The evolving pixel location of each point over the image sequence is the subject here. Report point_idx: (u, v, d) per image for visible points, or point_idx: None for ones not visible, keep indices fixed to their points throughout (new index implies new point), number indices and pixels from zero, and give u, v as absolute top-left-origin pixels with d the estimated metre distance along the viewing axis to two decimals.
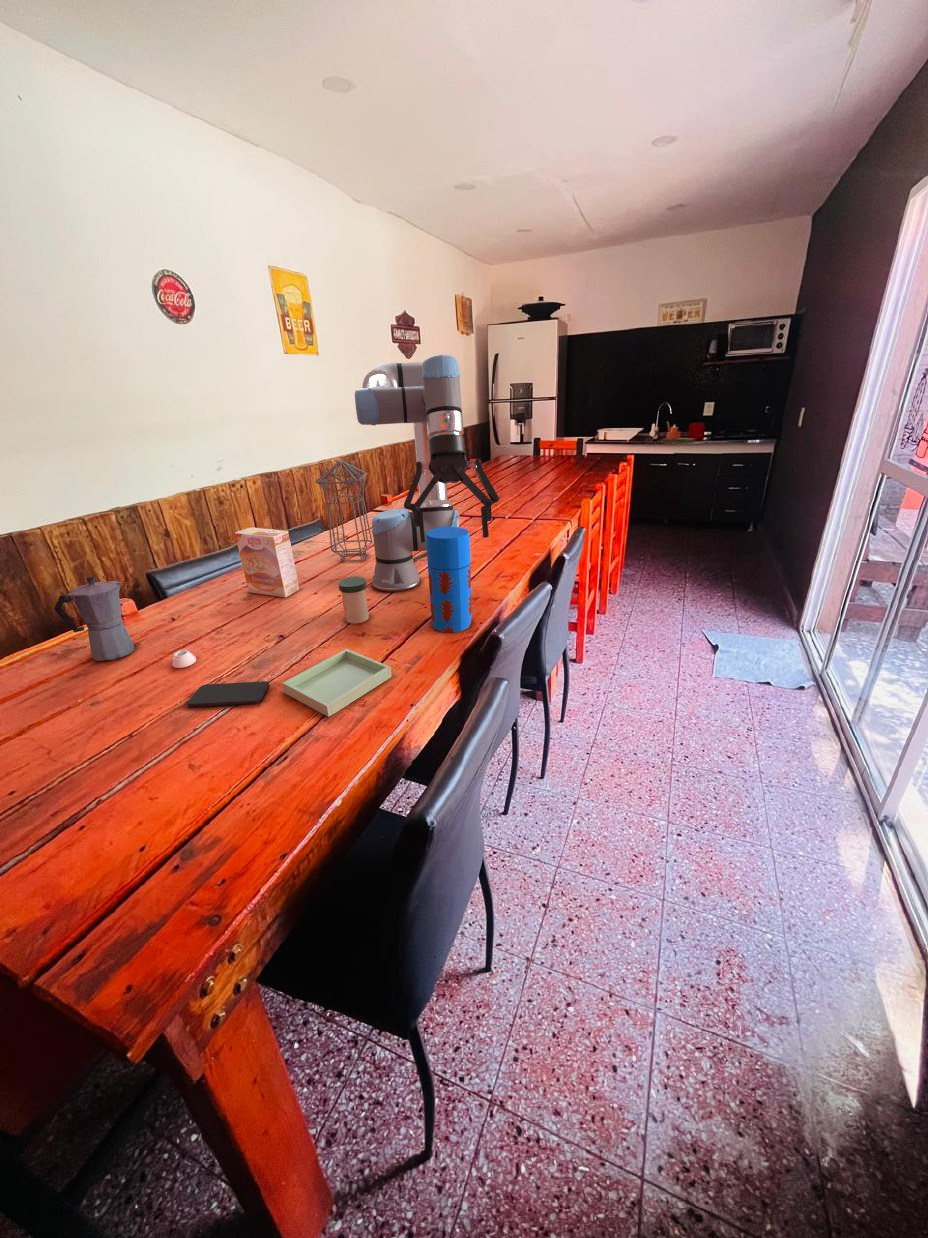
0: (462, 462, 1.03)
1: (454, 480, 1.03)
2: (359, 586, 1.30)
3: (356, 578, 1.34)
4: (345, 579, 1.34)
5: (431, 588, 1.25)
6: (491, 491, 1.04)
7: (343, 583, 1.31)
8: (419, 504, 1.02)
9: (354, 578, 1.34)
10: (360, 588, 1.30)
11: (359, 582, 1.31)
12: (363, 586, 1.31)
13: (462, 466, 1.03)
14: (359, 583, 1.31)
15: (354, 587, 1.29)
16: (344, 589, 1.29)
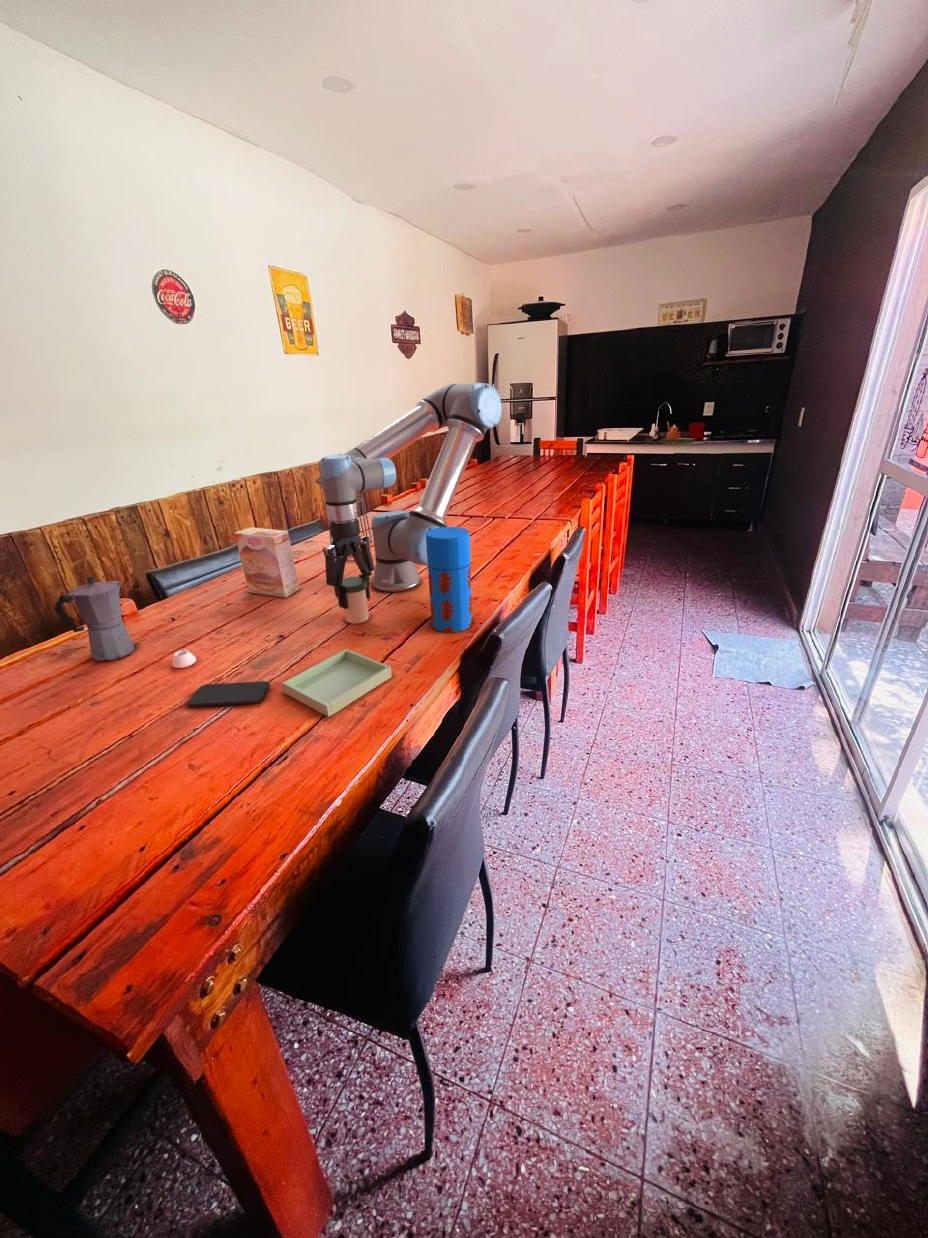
0: None
1: None
2: (359, 586, 1.30)
3: (356, 578, 1.34)
4: (345, 579, 1.34)
5: (431, 588, 1.25)
6: None
7: (343, 583, 1.31)
8: None
9: (354, 578, 1.34)
10: (360, 588, 1.30)
11: (359, 582, 1.31)
12: (363, 586, 1.31)
13: None
14: (359, 583, 1.31)
15: (354, 587, 1.29)
16: None
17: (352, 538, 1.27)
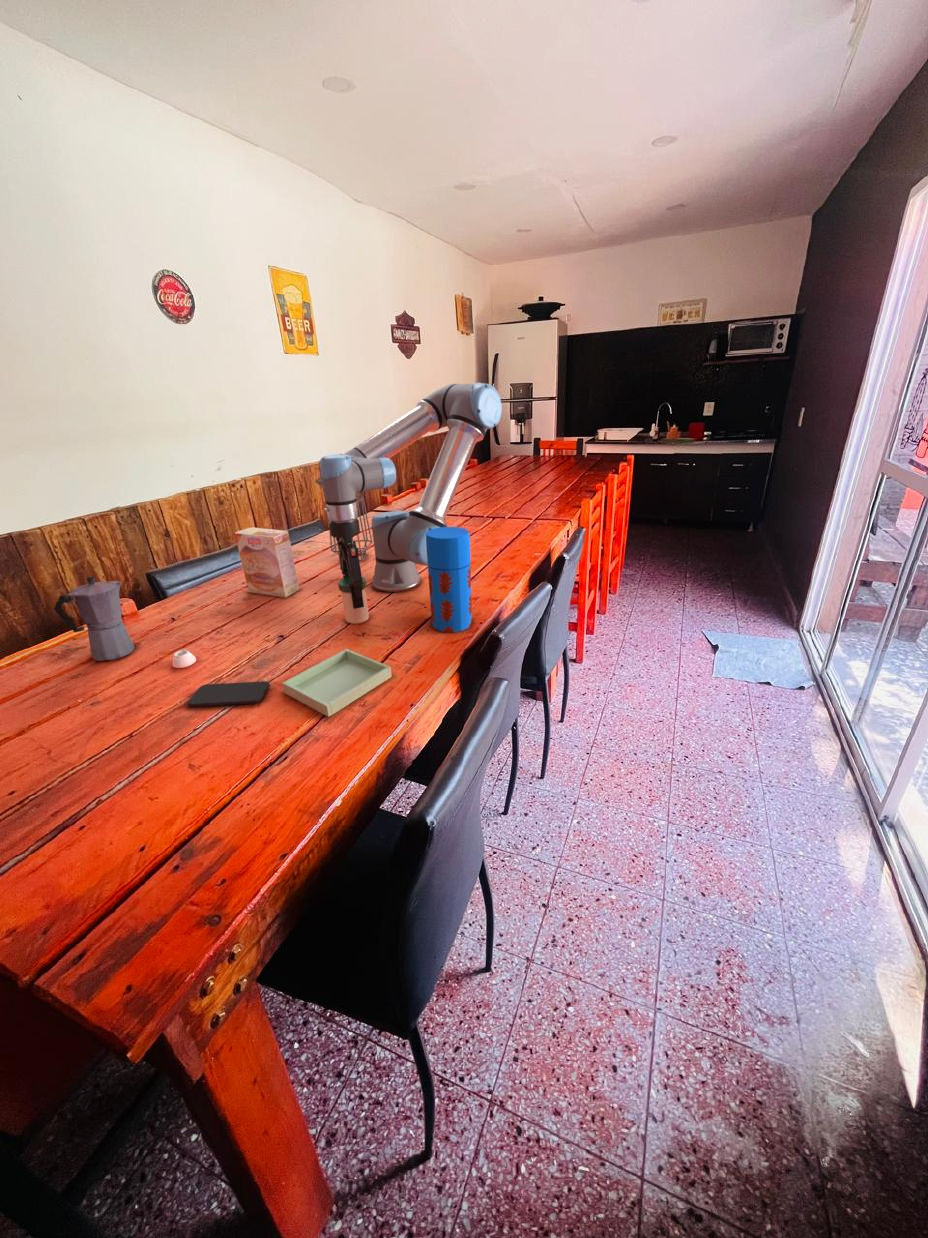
0: (344, 543, 1.24)
1: None
2: (365, 580, 1.33)
3: (347, 578, 1.33)
4: (341, 582, 1.31)
5: (431, 588, 1.25)
6: (351, 577, 1.25)
7: (350, 584, 1.30)
8: (342, 570, 1.34)
9: (345, 579, 1.33)
10: None
11: None
12: None
13: (344, 547, 1.25)
14: None
15: (365, 582, 1.32)
16: None
17: None
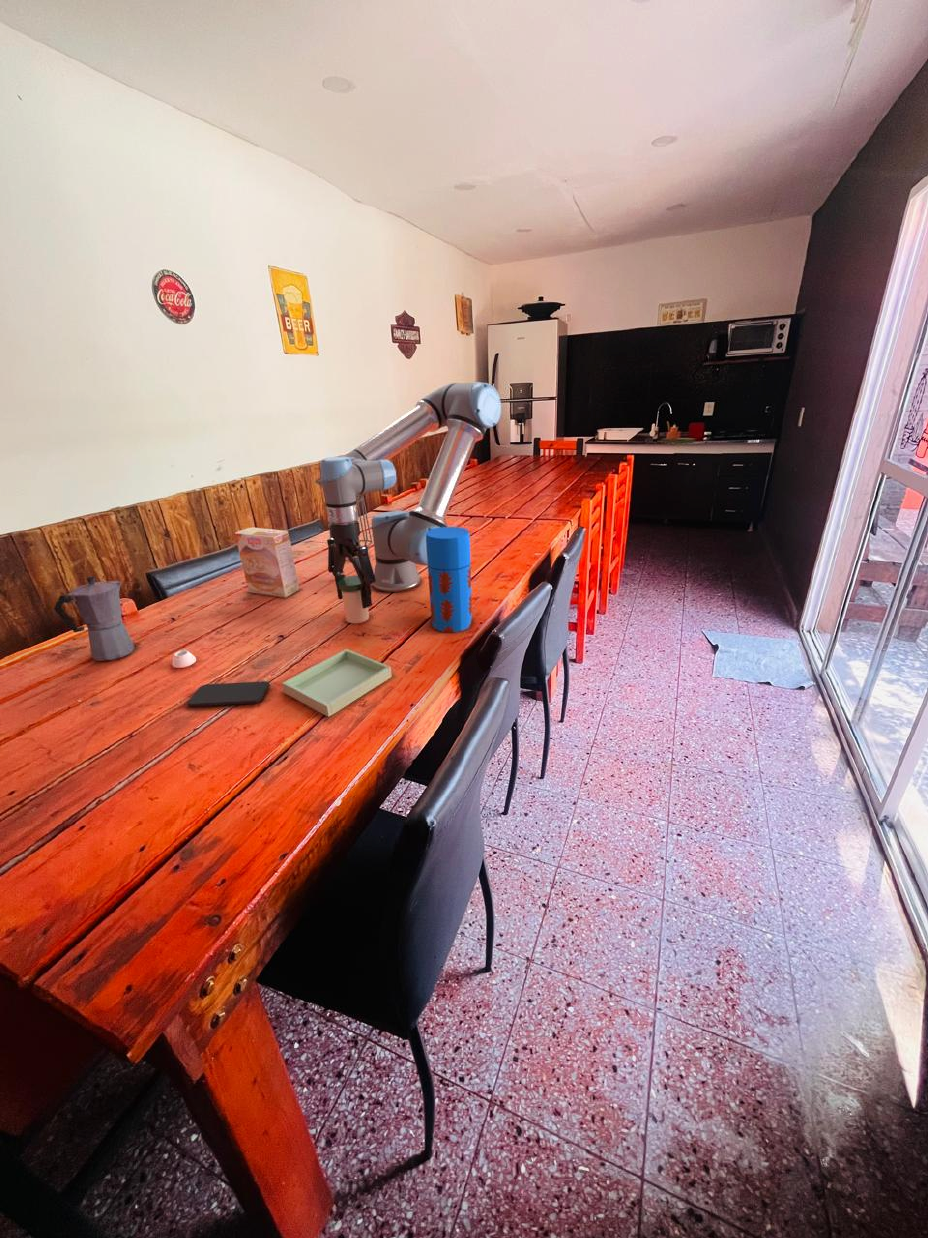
0: (350, 545, 1.25)
1: (347, 557, 1.28)
2: None
3: (344, 579, 1.33)
4: (344, 583, 1.30)
5: (431, 588, 1.25)
6: (364, 575, 1.25)
7: (355, 583, 1.30)
8: (335, 572, 1.33)
9: (344, 580, 1.32)
10: None
11: (357, 577, 1.34)
12: None
13: (350, 548, 1.25)
14: None
15: None
16: None
17: None
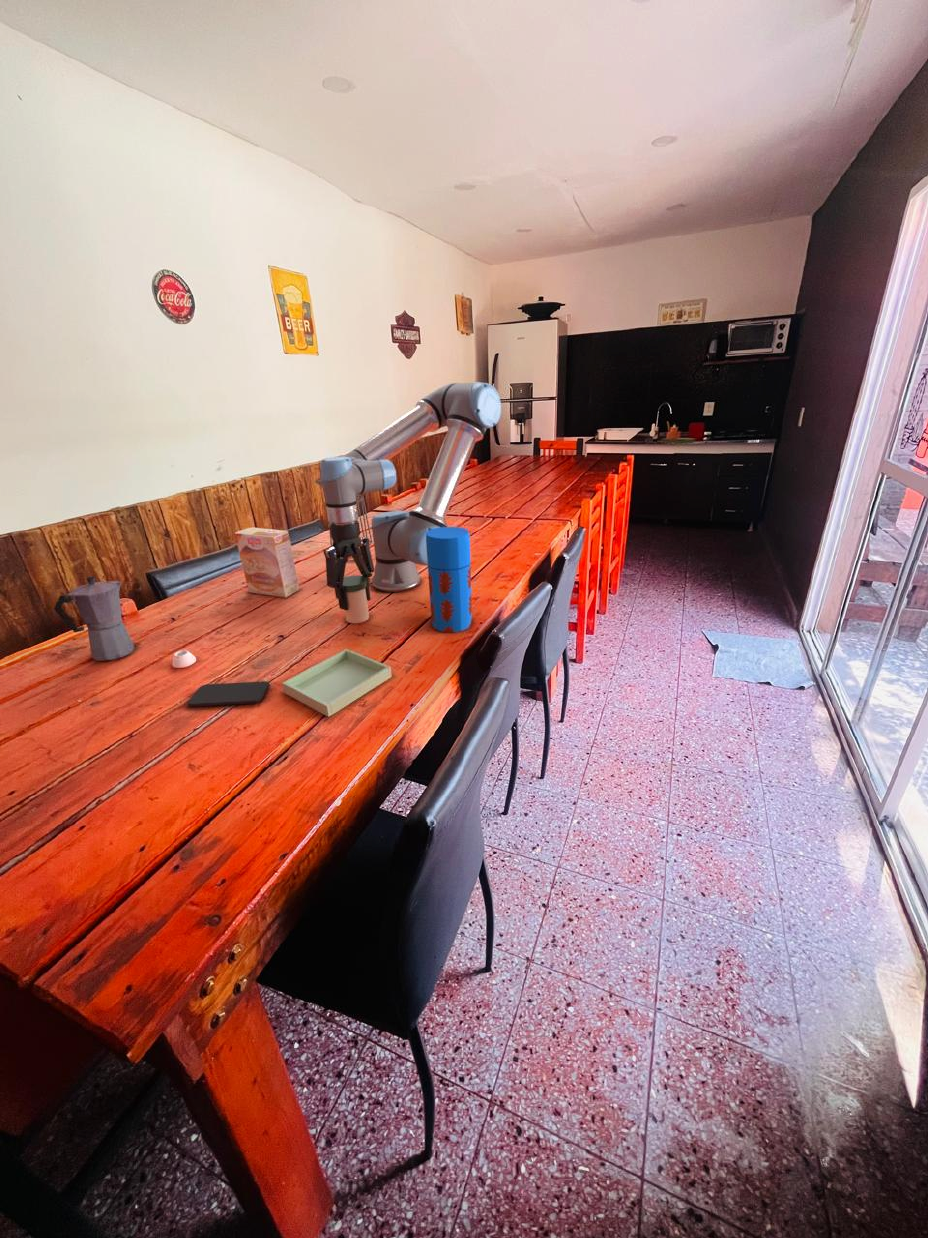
0: None
1: None
2: None
3: (344, 579, 1.33)
4: (344, 583, 1.30)
5: (431, 588, 1.25)
6: None
7: (355, 583, 1.30)
8: None
9: (343, 580, 1.32)
10: None
11: (356, 577, 1.34)
12: None
13: None
14: (359, 577, 1.34)
15: None
16: (364, 585, 1.31)
17: (352, 540, 1.27)
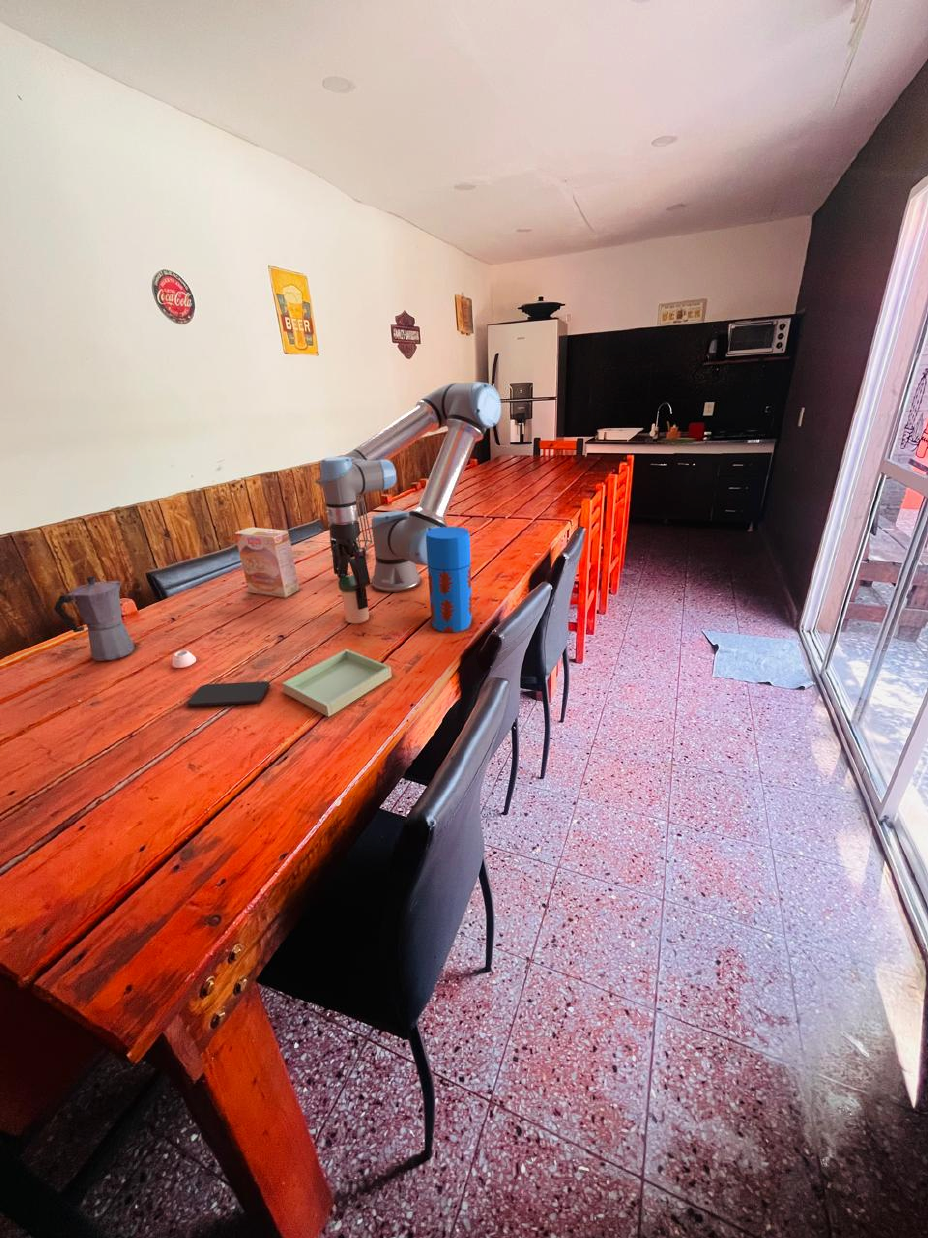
0: (348, 545, 1.25)
1: None
2: None
3: (346, 583, 1.30)
4: None
5: (431, 588, 1.25)
6: (359, 577, 1.26)
7: None
8: (339, 573, 1.34)
9: (348, 583, 1.30)
10: None
11: (346, 578, 1.33)
12: None
13: (348, 548, 1.25)
14: (346, 577, 1.34)
15: None
16: None
17: None
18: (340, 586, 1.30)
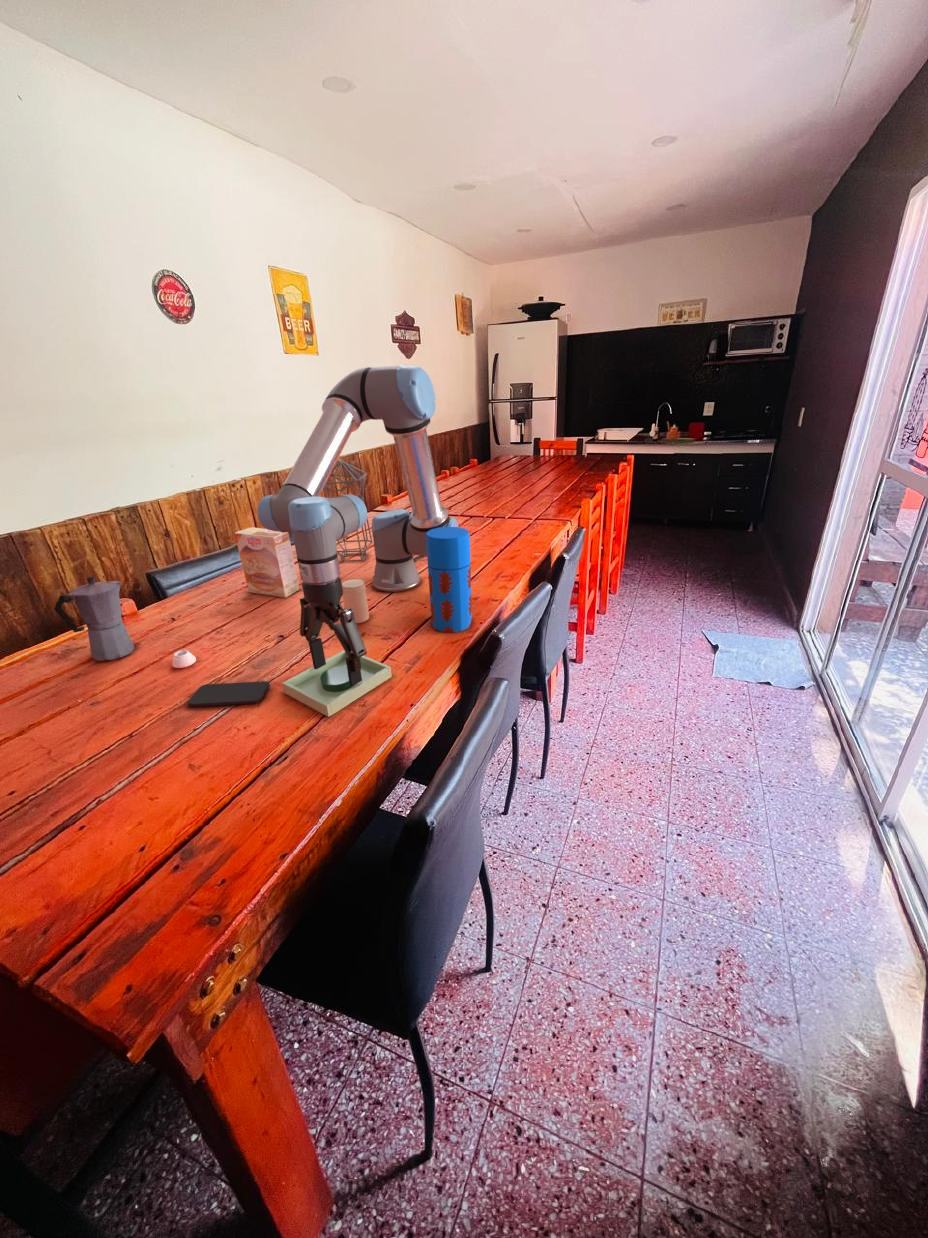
0: (330, 609, 0.96)
1: (327, 623, 0.99)
2: None
3: (331, 681, 1.04)
4: (346, 679, 1.04)
5: (431, 588, 1.25)
6: (351, 647, 0.96)
7: None
8: (309, 637, 1.05)
9: (334, 681, 1.04)
10: None
11: (329, 673, 1.07)
12: None
13: (330, 613, 0.97)
14: (329, 671, 1.07)
15: None
16: None
17: None
18: (324, 685, 1.03)
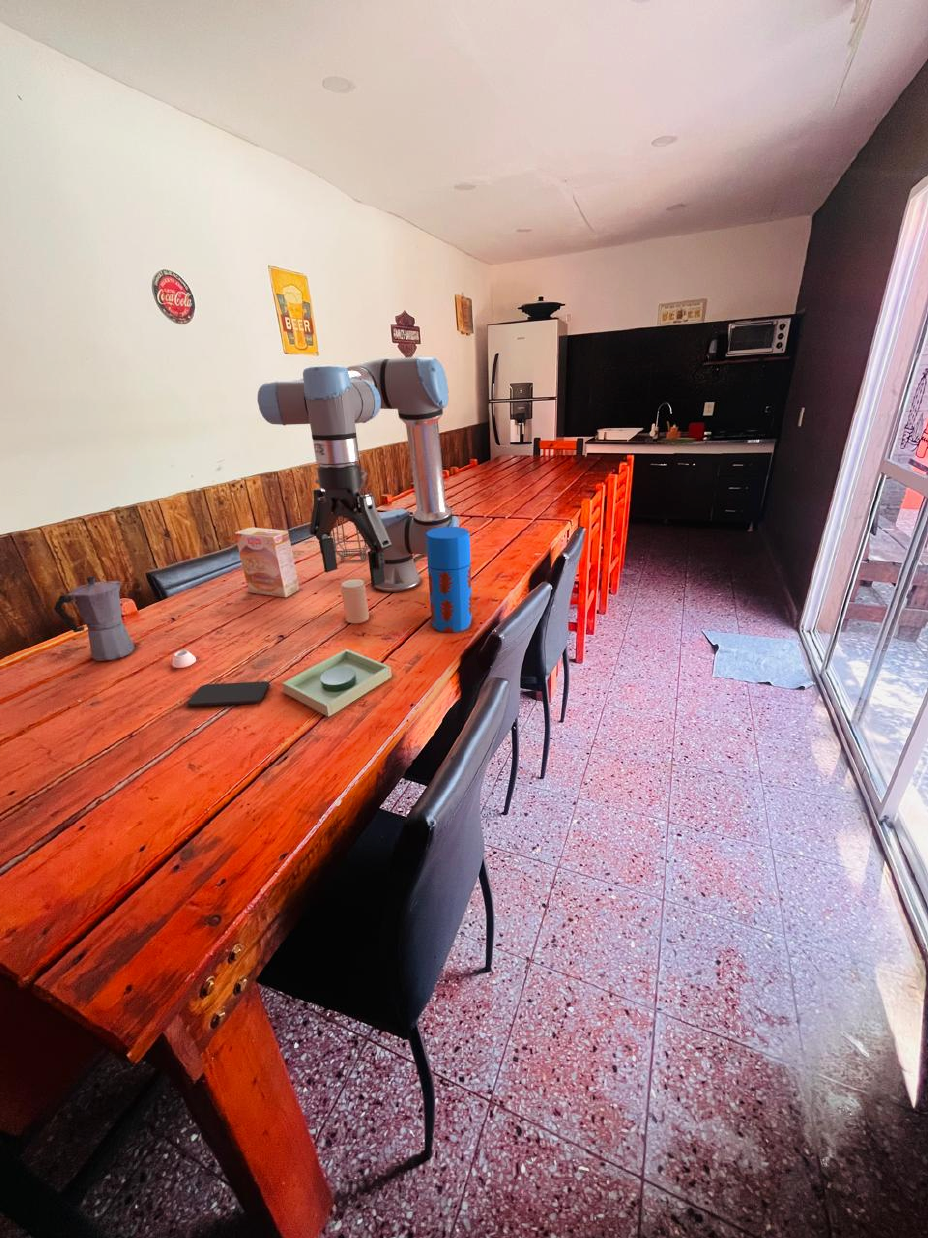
0: (348, 498, 0.87)
1: (344, 516, 0.90)
2: None
3: (331, 681, 1.04)
4: (346, 679, 1.04)
5: (431, 588, 1.25)
6: (374, 538, 0.86)
7: (348, 672, 1.07)
8: (320, 534, 0.96)
9: (334, 681, 1.04)
10: None
11: (329, 673, 1.07)
12: None
13: (348, 503, 0.87)
14: (329, 671, 1.07)
15: None
16: None
17: None
18: (324, 685, 1.03)
